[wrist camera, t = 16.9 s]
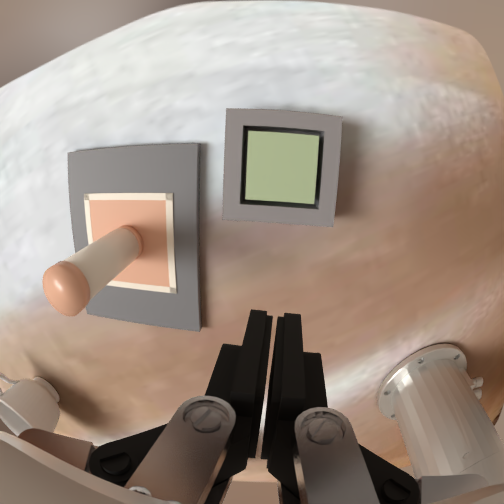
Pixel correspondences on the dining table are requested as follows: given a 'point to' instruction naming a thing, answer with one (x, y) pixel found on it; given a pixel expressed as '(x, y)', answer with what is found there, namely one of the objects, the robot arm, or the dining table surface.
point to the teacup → (29, 405)
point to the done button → (281, 167)
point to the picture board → (143, 228)
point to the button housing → (282, 123)
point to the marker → (91, 269)
